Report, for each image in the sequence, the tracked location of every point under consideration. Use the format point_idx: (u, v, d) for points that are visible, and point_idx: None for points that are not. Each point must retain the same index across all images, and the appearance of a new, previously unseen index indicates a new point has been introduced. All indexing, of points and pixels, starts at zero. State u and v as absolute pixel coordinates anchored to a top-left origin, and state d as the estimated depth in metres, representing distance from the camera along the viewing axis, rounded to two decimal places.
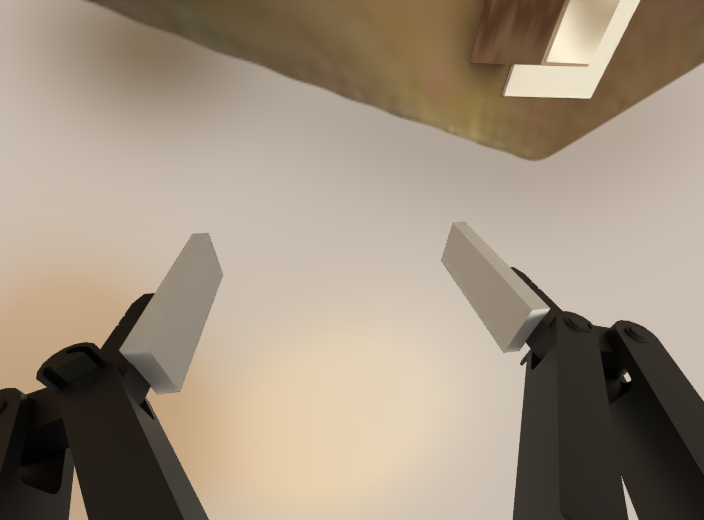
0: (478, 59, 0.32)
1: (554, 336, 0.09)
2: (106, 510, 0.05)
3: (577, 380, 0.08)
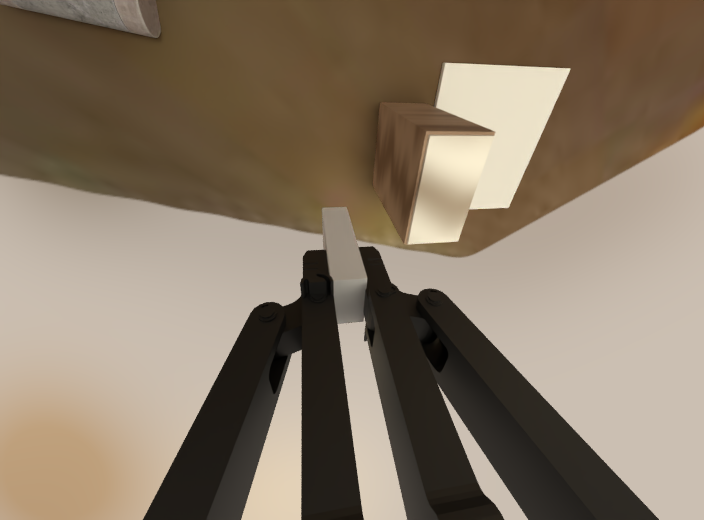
0: (376, 189, 0.31)
1: (373, 312, 0.10)
2: (311, 394, 0.07)
3: (400, 347, 0.08)
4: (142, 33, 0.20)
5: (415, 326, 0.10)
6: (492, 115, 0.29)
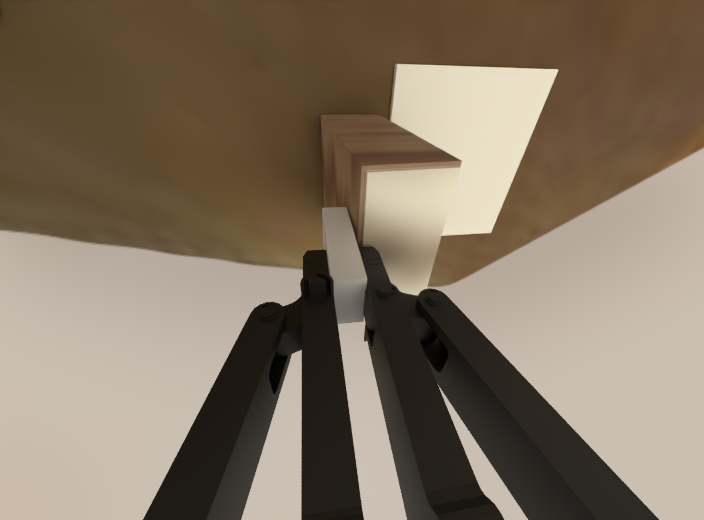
0: None
1: (373, 312, 0.10)
2: (311, 394, 0.07)
3: (400, 347, 0.08)
4: None
5: (415, 326, 0.10)
6: (463, 127, 0.24)
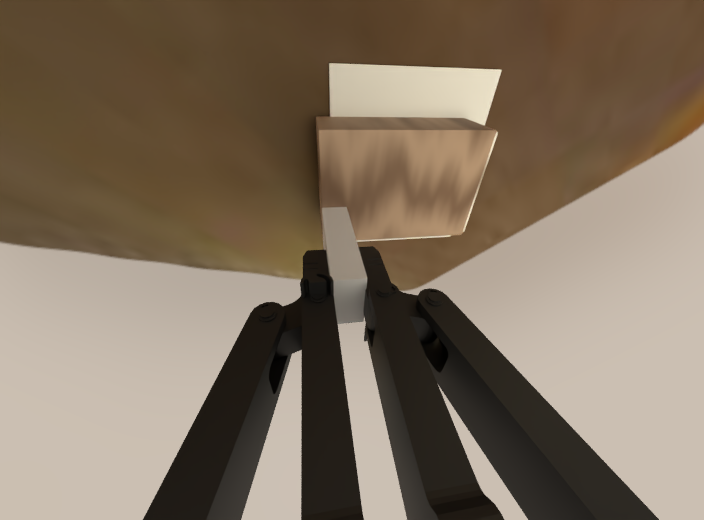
0: None
1: (373, 312, 0.10)
2: (311, 394, 0.07)
3: (400, 347, 0.08)
4: None
5: (415, 326, 0.10)
6: None
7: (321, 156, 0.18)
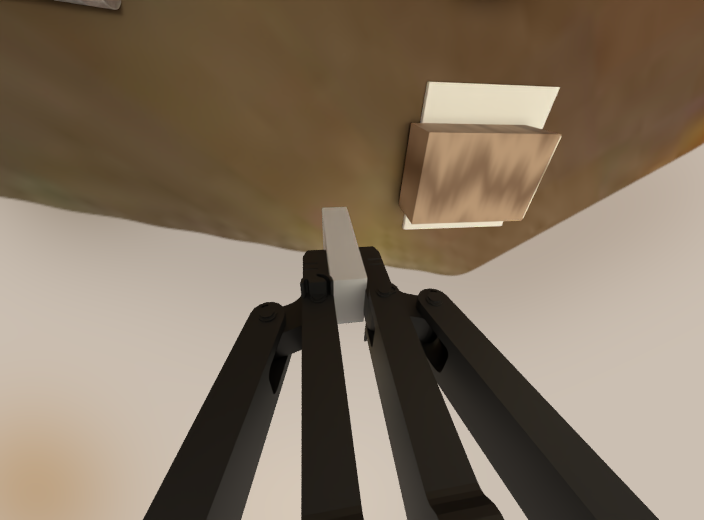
0: (429, 220, 0.28)
1: (373, 312, 0.10)
2: (311, 394, 0.07)
3: (400, 347, 0.08)
4: (97, 4, 0.18)
5: (415, 326, 0.10)
6: None
7: (426, 153, 0.24)
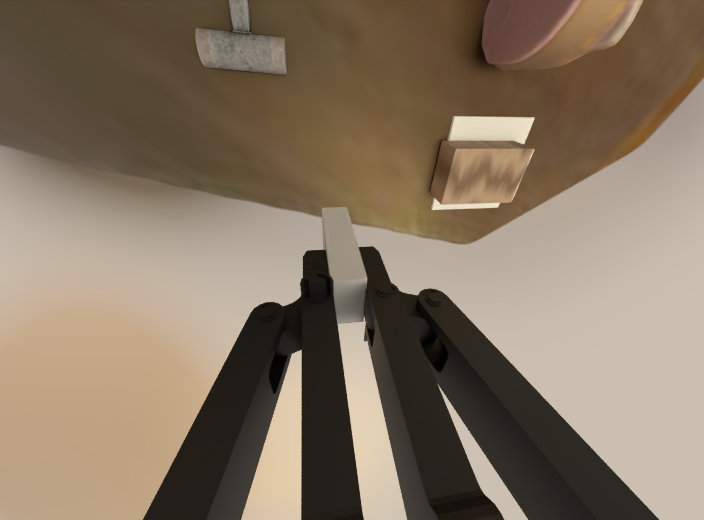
0: (452, 202, 0.44)
1: (373, 312, 0.10)
2: (311, 394, 0.07)
3: (400, 347, 0.08)
4: (280, 73, 0.33)
5: (415, 326, 0.10)
6: None
7: (453, 160, 0.40)
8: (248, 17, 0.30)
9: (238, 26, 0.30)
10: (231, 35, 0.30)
